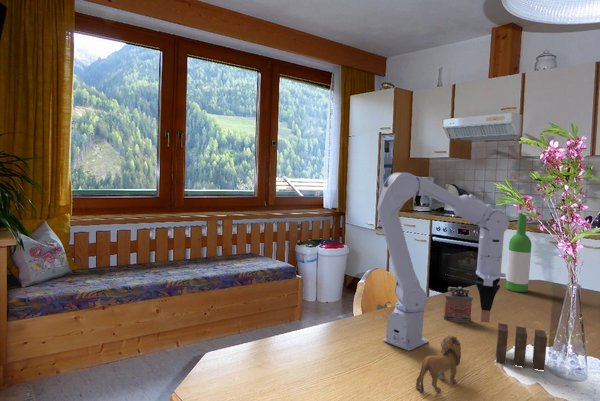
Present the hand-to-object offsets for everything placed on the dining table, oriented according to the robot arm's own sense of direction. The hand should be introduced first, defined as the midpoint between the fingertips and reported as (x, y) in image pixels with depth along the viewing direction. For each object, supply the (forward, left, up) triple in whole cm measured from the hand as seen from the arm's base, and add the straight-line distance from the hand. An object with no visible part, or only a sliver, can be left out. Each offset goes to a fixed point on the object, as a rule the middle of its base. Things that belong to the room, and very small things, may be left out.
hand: (486, 306), depth 114 cm
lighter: (+13, +14, -10) cm, 21 cm away
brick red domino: (0, 0, -3) cm, 3 cm away
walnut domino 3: (-3, -14, -10) cm, 18 cm away
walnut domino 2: (-4, -11, -10) cm, 15 cm away
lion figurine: (-29, -3, -10) cm, 31 cm away
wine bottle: (+65, +16, -10) cm, 67 cm away
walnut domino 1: (-6, -7, -10) cm, 13 cm away
